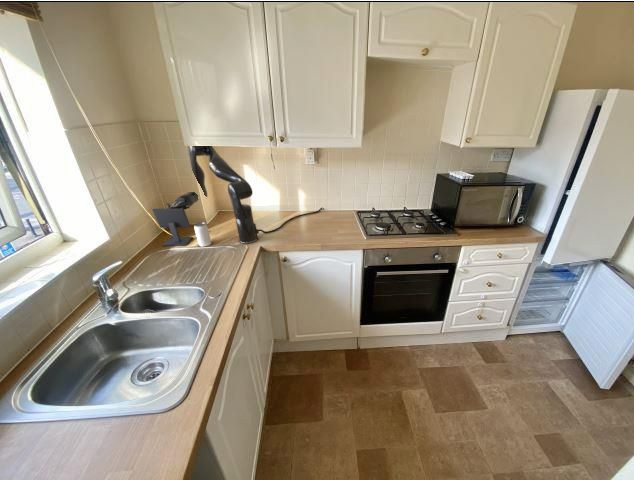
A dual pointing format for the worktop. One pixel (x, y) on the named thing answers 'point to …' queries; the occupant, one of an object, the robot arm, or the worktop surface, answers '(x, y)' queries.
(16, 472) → the worktop surface
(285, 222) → the robot arm
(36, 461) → the worktop surface
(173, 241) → the monitor stand
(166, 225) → the screen
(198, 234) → the can
